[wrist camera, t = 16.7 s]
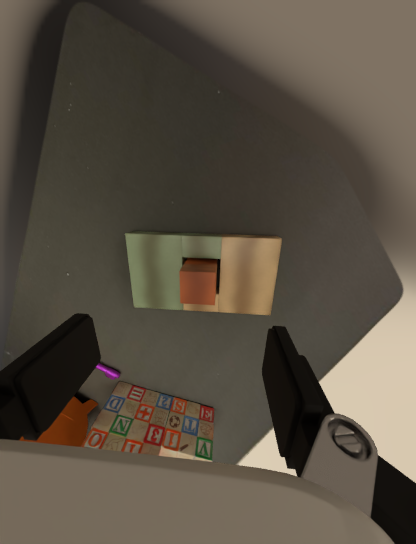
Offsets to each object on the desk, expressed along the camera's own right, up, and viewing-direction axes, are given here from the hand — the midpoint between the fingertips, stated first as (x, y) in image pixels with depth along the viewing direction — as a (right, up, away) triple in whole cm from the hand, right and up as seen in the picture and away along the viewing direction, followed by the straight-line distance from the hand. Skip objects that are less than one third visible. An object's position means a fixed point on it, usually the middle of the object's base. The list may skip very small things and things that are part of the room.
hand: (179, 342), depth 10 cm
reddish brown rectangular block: (+1, +4, +21) cm, 21 cm away
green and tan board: (+1, +4, +21) cm, 21 cm away
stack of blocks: (-8, -25, +32) cm, 42 cm away
